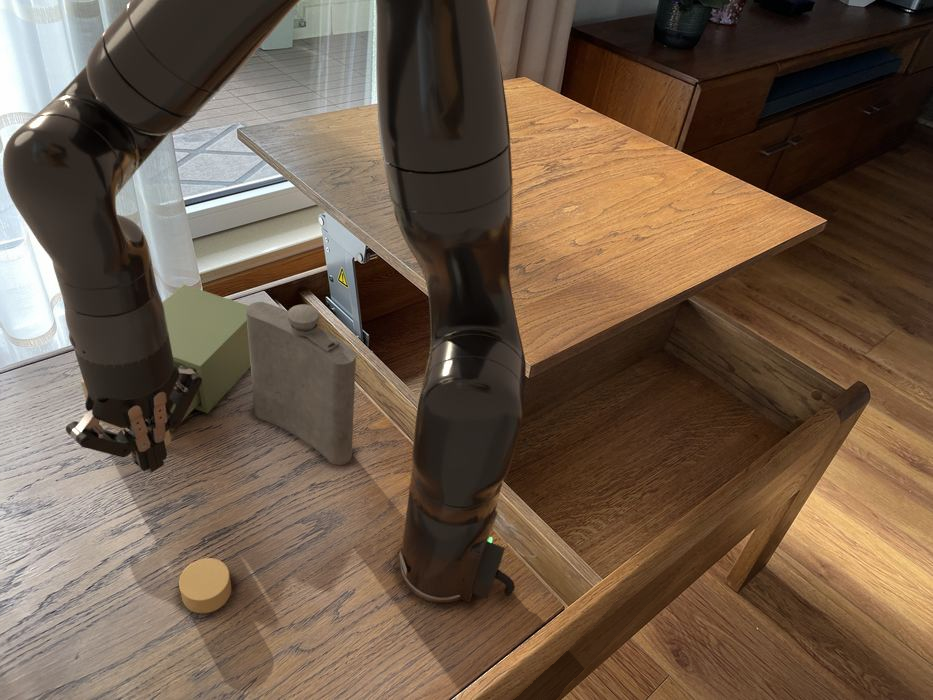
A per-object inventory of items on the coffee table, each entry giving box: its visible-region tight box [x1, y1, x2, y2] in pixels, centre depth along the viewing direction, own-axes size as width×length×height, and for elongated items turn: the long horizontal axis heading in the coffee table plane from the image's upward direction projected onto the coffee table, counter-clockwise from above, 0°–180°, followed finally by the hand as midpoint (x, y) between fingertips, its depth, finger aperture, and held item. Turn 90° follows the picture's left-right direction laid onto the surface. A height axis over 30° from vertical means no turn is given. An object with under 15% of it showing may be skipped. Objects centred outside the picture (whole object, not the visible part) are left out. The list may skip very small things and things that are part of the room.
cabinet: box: [162, 284, 251, 414], centre depth 99 cm, size 14×12×9 cm
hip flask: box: [246, 301, 357, 466], centre depth 89 cm, size 16×4×20 cm, turn 58°
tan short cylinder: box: [178, 557, 232, 614], centre depth 76 cm, size 5×5×3 cm
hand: (152, 464), depth 72 cm, fingers closed
